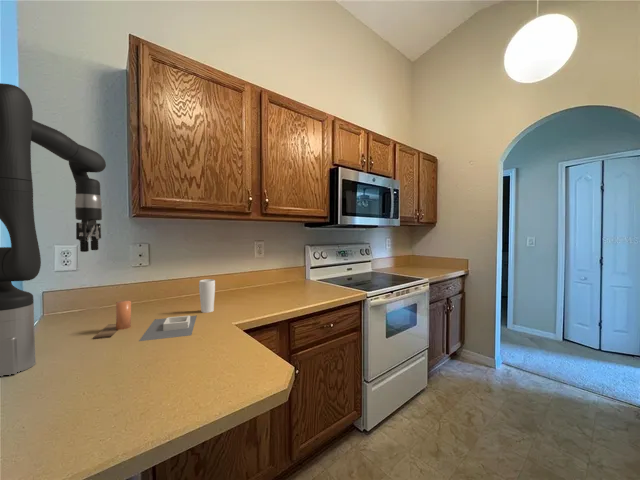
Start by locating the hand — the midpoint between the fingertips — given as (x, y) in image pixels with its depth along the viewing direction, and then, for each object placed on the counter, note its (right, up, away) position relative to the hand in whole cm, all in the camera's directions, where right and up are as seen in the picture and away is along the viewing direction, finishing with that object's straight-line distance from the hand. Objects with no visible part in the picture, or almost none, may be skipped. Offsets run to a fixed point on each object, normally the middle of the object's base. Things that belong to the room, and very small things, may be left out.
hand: (89, 250), depth 104 cm
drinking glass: (+34, -30, +24) cm, 51 cm away
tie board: (+29, -30, +3) cm, 42 cm away
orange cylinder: (+11, -29, +2) cm, 31 cm away
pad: (+11, -30, +2) cm, 32 cm away
